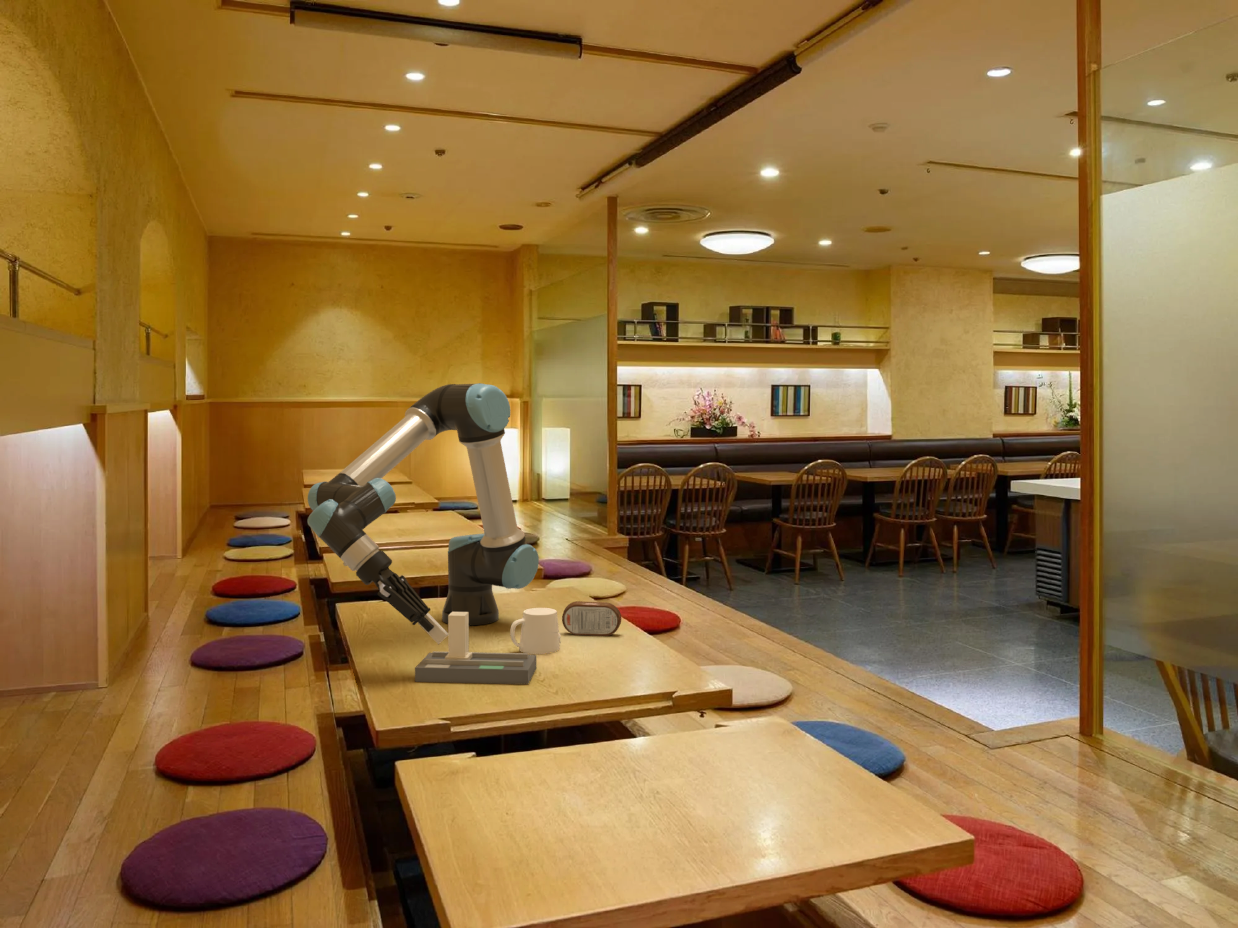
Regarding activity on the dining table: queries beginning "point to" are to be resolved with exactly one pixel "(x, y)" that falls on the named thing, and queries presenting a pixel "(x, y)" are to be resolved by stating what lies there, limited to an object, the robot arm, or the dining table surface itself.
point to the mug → (537, 631)
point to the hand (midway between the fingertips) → (443, 639)
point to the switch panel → (477, 668)
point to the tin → (591, 618)
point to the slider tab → (458, 636)
